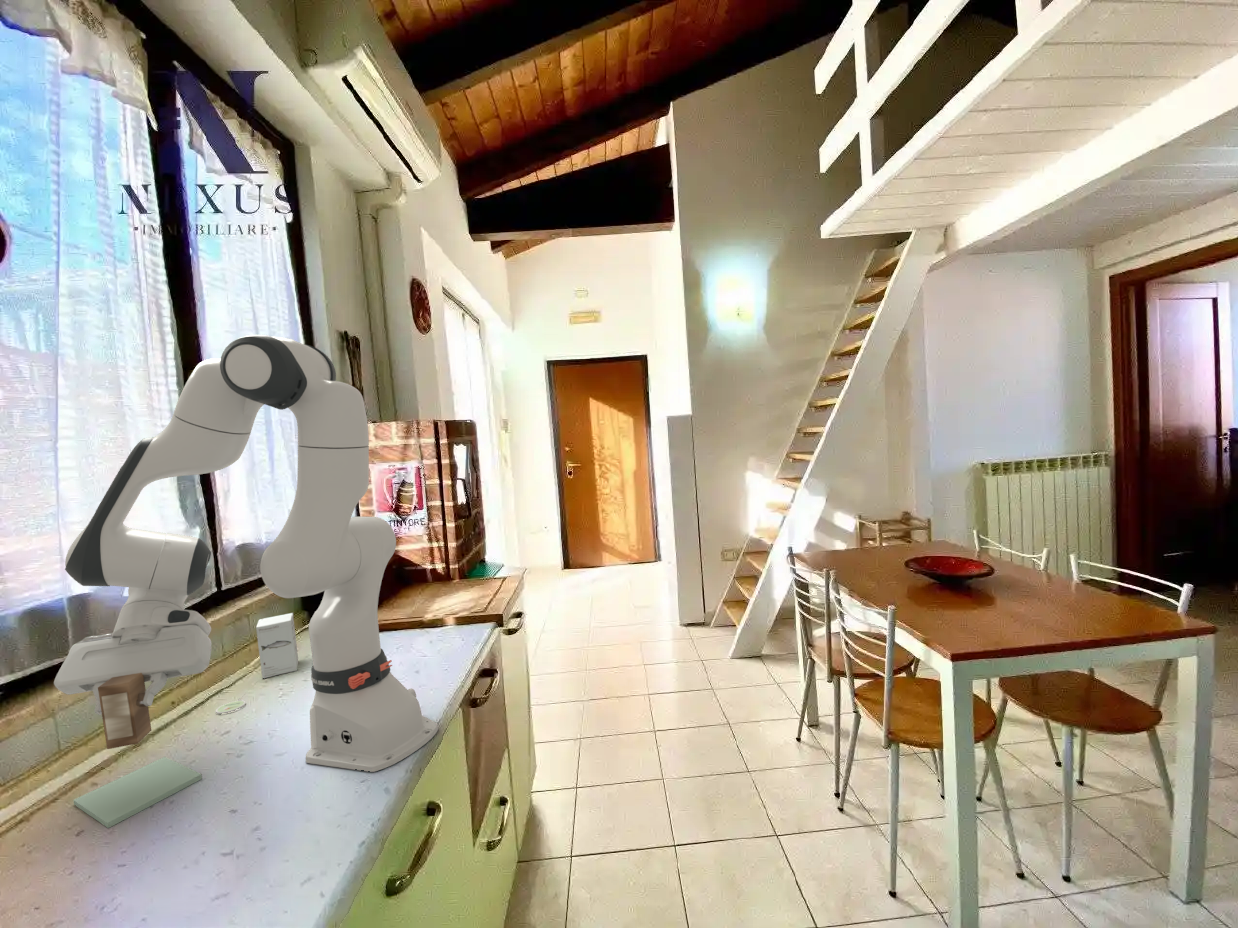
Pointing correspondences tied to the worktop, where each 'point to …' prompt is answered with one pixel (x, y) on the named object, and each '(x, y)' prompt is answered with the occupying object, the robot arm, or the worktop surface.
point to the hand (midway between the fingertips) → (123, 709)
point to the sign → (230, 706)
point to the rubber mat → (136, 791)
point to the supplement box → (277, 645)
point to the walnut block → (123, 710)
